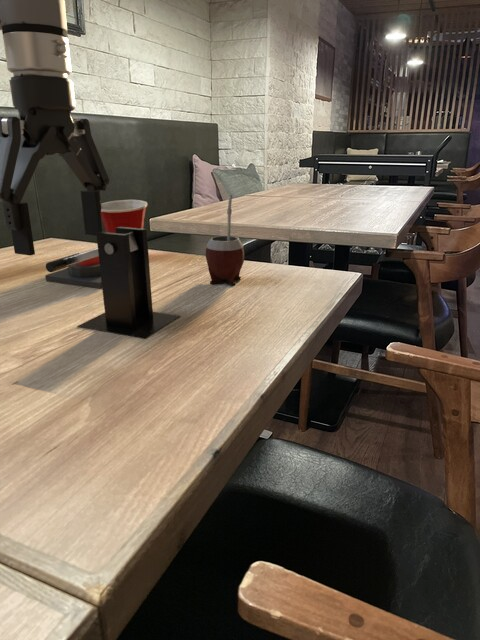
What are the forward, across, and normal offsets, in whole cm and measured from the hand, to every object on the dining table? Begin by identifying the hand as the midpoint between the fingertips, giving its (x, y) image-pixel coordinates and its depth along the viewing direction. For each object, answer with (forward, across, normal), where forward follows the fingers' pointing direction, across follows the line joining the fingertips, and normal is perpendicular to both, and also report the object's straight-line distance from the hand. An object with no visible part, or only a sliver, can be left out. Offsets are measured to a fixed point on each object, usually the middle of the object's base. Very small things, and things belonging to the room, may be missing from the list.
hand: (62, 243), depth 69 cm
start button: (+8, +16, +9) cm, 20 cm away
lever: (+2, 0, -6) cm, 6 cm away
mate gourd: (+11, +27, -13) cm, 32 cm away
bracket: (+11, 0, -11) cm, 15 cm away
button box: (+11, +16, +9) cm, 22 cm away
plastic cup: (+12, +35, +15) cm, 40 cm away
